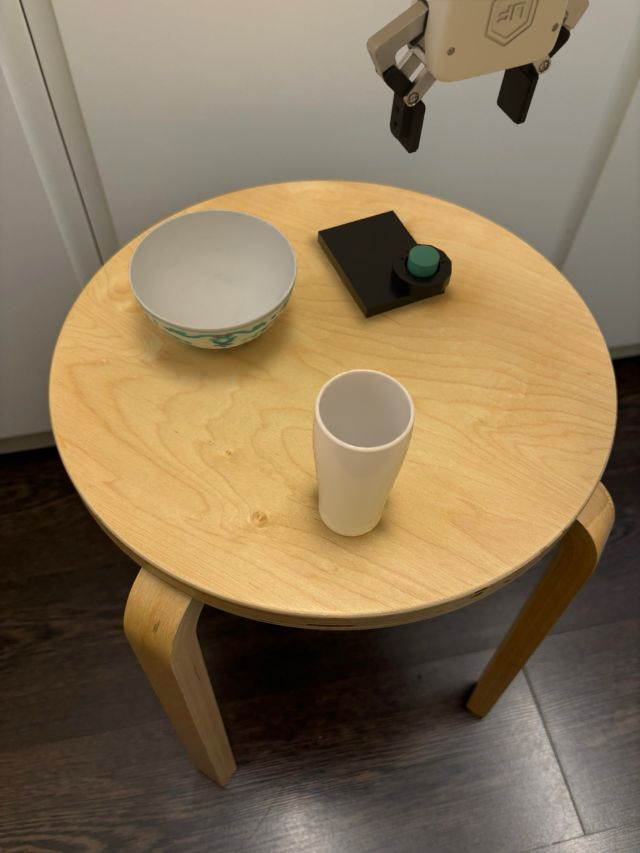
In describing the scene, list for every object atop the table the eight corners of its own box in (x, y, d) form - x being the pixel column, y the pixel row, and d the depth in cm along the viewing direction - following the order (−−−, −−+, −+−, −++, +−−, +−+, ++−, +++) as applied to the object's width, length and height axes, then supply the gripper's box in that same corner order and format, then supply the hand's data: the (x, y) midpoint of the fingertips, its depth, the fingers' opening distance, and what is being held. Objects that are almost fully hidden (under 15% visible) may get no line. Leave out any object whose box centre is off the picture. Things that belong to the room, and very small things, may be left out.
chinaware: (122, 297, 71) (105, 238, 64) (257, 250, 75) (253, 191, 68) (178, 406, 64) (165, 353, 57) (323, 348, 68) (326, 292, 61)
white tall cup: (300, 536, 57) (302, 438, 45) (320, 466, 61) (326, 357, 48) (382, 556, 56) (407, 462, 44) (397, 484, 60) (424, 378, 48)
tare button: (427, 253, 72) (430, 241, 71) (442, 272, 70) (445, 261, 69) (401, 261, 71) (403, 249, 70) (415, 281, 70) (418, 269, 68)
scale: (399, 217, 79) (402, 195, 76) (457, 297, 72) (462, 275, 70) (317, 241, 76) (318, 219, 74) (370, 325, 70) (372, 304, 67)
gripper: (420, -86, 37) (382, 184, 51) (677, -129, 41) (575, 130, 56) (356, -142, 40) (338, 125, 55) (599, -177, 45) (523, 79, 59)
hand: (457, 128), depth 55 cm, fingers open, 9 cm apart
